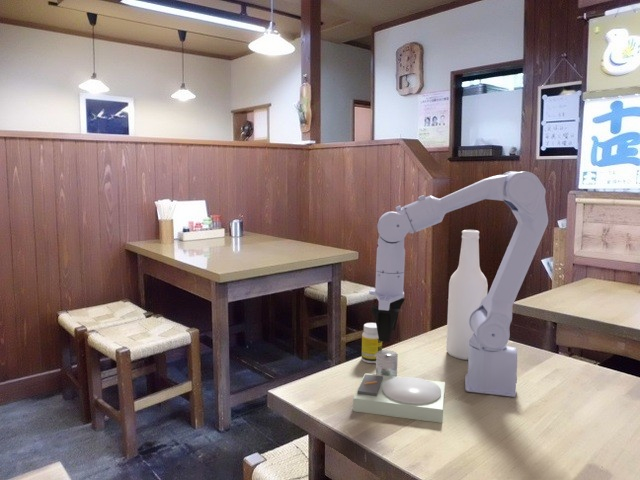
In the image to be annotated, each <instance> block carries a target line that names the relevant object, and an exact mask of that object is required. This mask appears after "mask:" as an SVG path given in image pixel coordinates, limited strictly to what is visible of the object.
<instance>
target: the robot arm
mask: <svg viewBox="0 0 640 480" xmlns="http://www.w3.org/2000/svg"><path fill="white" fill-rule="evenodd" d="M546 191H547V190H546V188H545V186H544V185H543V184H542V181H540V178H539V177H538V176H537V175H536V174H534V173H532V172H530V171H517V170H516V171H514V170H511V171H507V172H504V173H502V174H497V175H493V176H489V177H487V178H483V179H481V180H479V181H476V182H474V183H471V184H469V185H468V186H465V187H463V188H461V189H460V188H459V190H456V191H454V192H452V193H449V194H447V195H445V196H443V197H441V198H438V197H435V196H433V195H428V196H426V195H424V194H423V195H420V196H418V198H417V199H418V200H416V201H413V202H410V203H409V204H405V205H404V206H402V207H401V205H398V206H396V207H395V209H396V211H391V210H390V211H386V212H385V213H383V214H382V215H380V217H379V219H378V222H377V224H376V225H377V228H376V229H377V233H378V238H377V245H378V246H377V248H376V264H375V285H374V286H375V288H374V289H370V290H369V293H368V294H369V295H372V296H375V298H376V299H377V301H378V305H375V304H373V305H371V306H370V312H371V314H372V316H373V318H374V321H375V323H376V325H377V332H378V337H379V341H382V342H386V343H389V342H391V338H392V335H393V331H395V330H396V327H397V323H398V319H399V316H400V315H399V314H400V312H401V308H402V305H403V304H404V302H405V301H406V296H405V292H404V286H405V263H406V261H405V260H406V249H405V238H406V236H407V235H408V234H414V233H417V232H420V231H423V230H425V229H427V228H430V227H433V226H436V225H437V224H439V223H442V222H443V219H444V218H445V215H446V214H448V213H450V212H453V211H455V210H456V211H457V210H458V209H461V208H464V207H466V206H470V205H472V204H475V203H478V202H480V201H481V202H482V201H484V200H491V201H492V200H493V201H499V202H500V201H502V202H504V203H505V205H507V206H508V207H509V208H510V211H511V212H512V214H513V215H514V217H515V219H516V220H517V224H516V227H515V229H514V231H513V234H512V236H511V238H510V240H509V244H508V246H507V247H506V250H505V253H504V255H503V257H502V260H501V263H499V264H500V265H499V267H498V269H497V272H496V275H495V277H494V279H493V281H492V283H491V286H490V288H489V291H488V292H487V296H486V297H485V298H484V299H483V300H482V301H481V304H480V306H479V307H478V308H477V309H476V310H475V311H473V312H472V314H471V315H470V318H469V325H470V328H471V329H472V331H473V332H474V334H473V336H472V337H471V339H470V340H469V359H468V360H467V361H468V363H467V374H464V375H465V378H464V379H465V380H464V382H465V384H464V385H465V388H464V389H465V391H466V392H470V393H475V394H476V393H477V394H486V395H493V396H504V397H511V398H515V397H516V395H517V393H516V390H517V389H516V388H517V382H518V374H517V373H518V350H517V347H515V346H510V345H507V343H508V342H509V341H510V337H511V336H510V335H511V334H510V326H511V323H512V321H513V305H514V303H515V301H516V299H517V296H518V293H519V291H520V289H521V287H522V285H523V282H524V280H525V277H526V275H527V274H528V271H529V269H530V266H531V264H532V262H533V259H534V257H535V254H536V252H537V249H538V247H540V246H539V245H540V243H541V241H542V239H543V236H544V234H545V231H546V229H547V227H548V225H549V216H548V209H547V203H546V202H547V201H546Z"/></svg>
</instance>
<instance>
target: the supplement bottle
mask: <svg viewBox="0 0 640 480" xmlns="http://www.w3.org/2000/svg"><path fill="white" fill-rule="evenodd" d="M382 350H383V341H379V337H378V332H377V325H376V322H366V323H364V324H363V332H362V333H361V360H362V361H363V363H367V364H376V353H377V352H378V351H382Z"/></svg>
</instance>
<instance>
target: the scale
mask: <svg viewBox="0 0 640 480" xmlns="http://www.w3.org/2000/svg"><path fill="white" fill-rule="evenodd" d="M445 388H446V382H445V381H436V380H429V379H425V378H420V377H414V376H397V377H394V376H386V375H377V374H376V373H375V374H374V373H364V375H363V377H362V379H361V381H360V383H359V385H358V387H357V389H356V391H355V393H354V396H353V399H352V412H357V413H363V414H371V415H373V414H374V415H378V416H388V417H393V418H401V419H409V420H417V421H423V422H424V421H425V422H434V423H440V424H442V423H443V416H444V406H445V405H444V403H445V393H446V391H445V390H446V389H445Z"/></svg>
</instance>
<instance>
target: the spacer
mask: <svg viewBox="0 0 640 480" xmlns="http://www.w3.org/2000/svg"><path fill="white" fill-rule="evenodd" d="M398 361H399V360H398V353H397V352H396V351H393V350H387V349H385V350H383V349H382V351H378V352H377V353H376V363H375V364H376V365H375V374H377V375H386V376H394V377H398Z"/></svg>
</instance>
